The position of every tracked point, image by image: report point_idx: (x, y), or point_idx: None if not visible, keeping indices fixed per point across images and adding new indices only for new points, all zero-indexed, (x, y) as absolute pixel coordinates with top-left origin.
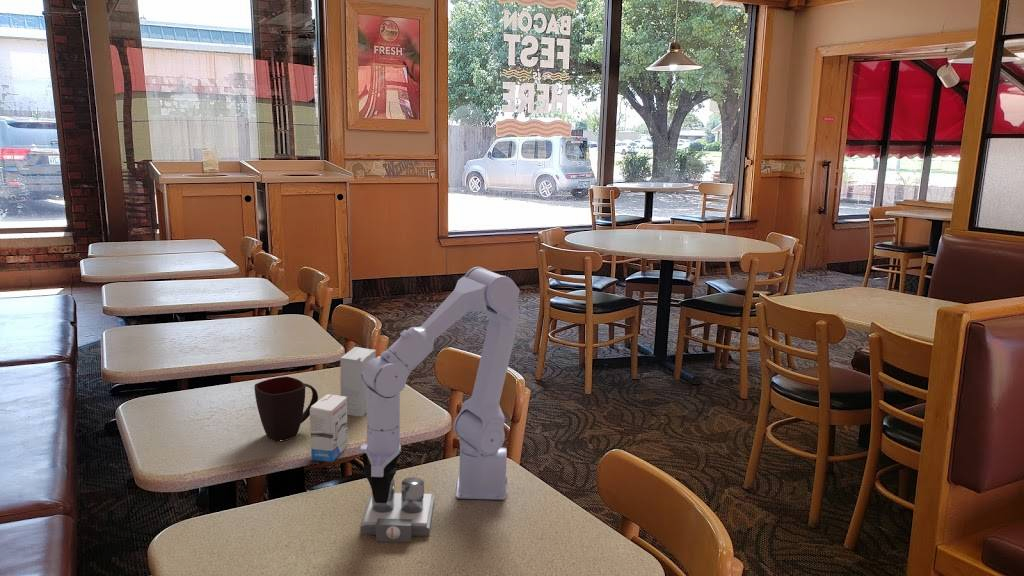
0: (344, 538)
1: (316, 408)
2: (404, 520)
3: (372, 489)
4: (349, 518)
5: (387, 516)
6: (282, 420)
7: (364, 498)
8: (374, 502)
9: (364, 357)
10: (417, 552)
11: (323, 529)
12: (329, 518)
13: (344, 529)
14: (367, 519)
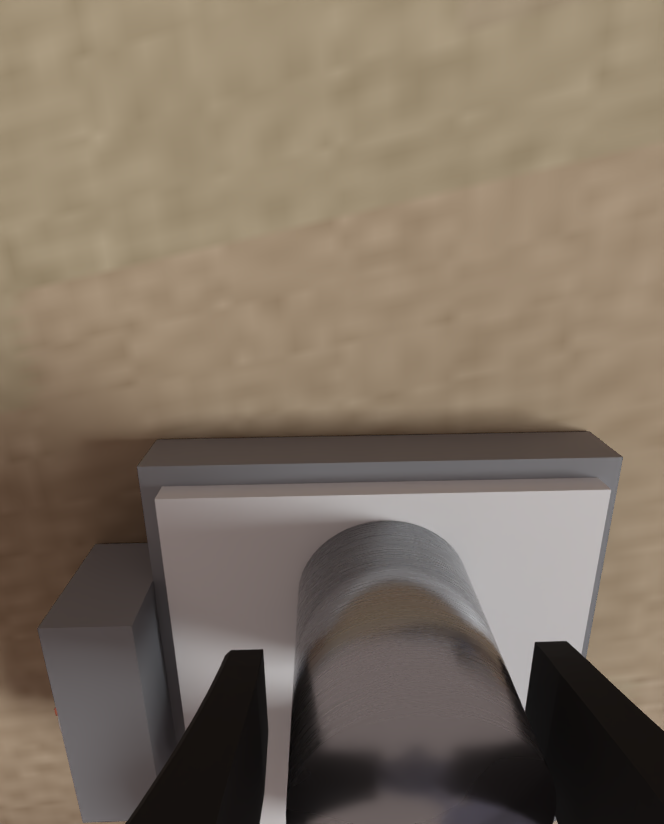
0: (89, 340)
1: None
2: (140, 782)
3: (148, 795)
4: (357, 321)
5: (249, 640)
6: None
7: (641, 377)
8: (320, 595)
9: None
10: (39, 749)
11: (182, 141)
12: (350, 154)
13: (204, 315)
14: (189, 519)
